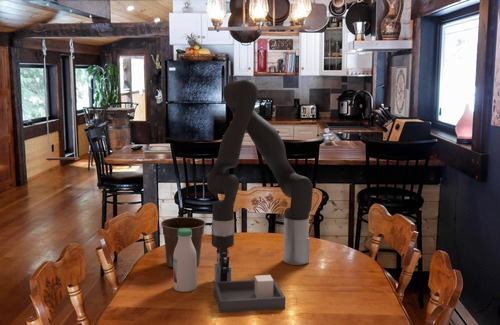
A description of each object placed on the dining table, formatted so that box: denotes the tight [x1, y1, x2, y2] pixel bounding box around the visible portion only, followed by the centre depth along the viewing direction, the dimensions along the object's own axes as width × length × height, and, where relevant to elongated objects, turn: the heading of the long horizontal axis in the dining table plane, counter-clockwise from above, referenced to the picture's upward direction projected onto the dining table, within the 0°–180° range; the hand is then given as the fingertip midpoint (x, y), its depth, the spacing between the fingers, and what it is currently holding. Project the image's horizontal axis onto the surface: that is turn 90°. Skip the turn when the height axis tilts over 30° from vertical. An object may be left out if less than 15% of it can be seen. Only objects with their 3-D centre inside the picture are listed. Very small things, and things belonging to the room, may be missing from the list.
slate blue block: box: [214, 263, 232, 282], centre depth 195 cm, size 5×5×6 cm
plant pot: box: [160, 216, 206, 268], centre depth 212 cm, size 16×16×16 cm
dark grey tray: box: [213, 278, 286, 314], centre depth 181 cm, size 20×16×4 cm
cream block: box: [254, 274, 274, 298], centre depth 181 cm, size 5×5×6 cm
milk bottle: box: [172, 228, 198, 293], centre depth 189 cm, size 8×8×20 cm
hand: (222, 279), depth 195 cm, fingers closed on slate blue block, 5 cm apart
